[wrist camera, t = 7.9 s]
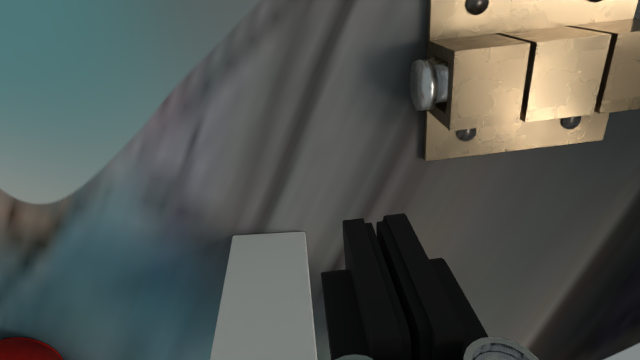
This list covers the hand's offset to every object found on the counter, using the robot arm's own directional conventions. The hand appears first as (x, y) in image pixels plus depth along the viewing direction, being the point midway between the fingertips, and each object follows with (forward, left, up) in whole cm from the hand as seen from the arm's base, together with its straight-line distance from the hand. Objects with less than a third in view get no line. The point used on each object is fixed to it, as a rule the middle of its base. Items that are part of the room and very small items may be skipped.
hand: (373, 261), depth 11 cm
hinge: (-15, 0, -19) cm, 24 cm away
